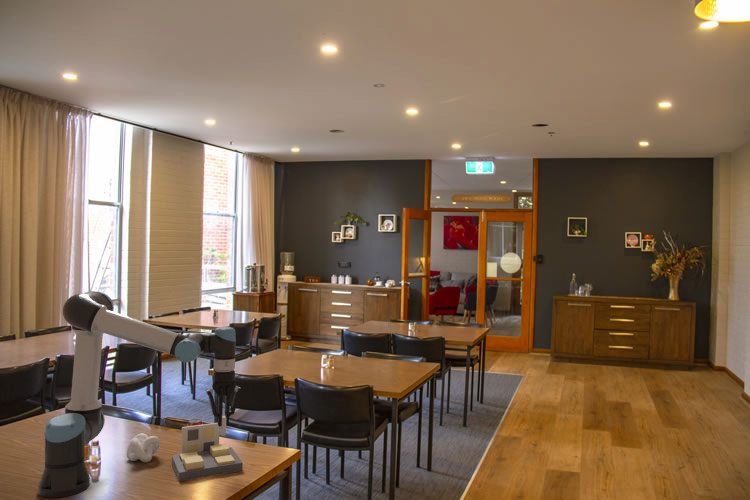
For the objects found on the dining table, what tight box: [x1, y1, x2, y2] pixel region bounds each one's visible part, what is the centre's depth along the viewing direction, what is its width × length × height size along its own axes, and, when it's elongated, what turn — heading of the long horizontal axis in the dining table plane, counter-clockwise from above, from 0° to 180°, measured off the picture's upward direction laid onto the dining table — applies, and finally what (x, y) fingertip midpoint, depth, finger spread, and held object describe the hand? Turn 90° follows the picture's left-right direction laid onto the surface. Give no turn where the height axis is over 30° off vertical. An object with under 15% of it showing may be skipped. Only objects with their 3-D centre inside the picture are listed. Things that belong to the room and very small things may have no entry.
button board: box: [171, 422, 244, 482], centre depth 210 cm, size 22×22×12 cm
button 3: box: [210, 443, 230, 457], centre depth 215 cm, size 6×6×3 cm
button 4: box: [215, 455, 235, 465], centre depth 207 cm, size 6×6×3 cm
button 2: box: [183, 456, 204, 470], centre depth 202 cm, size 6×6×3 cm
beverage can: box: [186, 418, 204, 427], centre depth 226 cm, size 6×6×12 cm
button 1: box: [179, 452, 198, 462], centre depth 210 cm, size 6×6×3 cm
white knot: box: [126, 432, 161, 463], centre depth 216 cm, size 11×12×9 cm
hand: (223, 434), depth 207 cm, fingers closed
